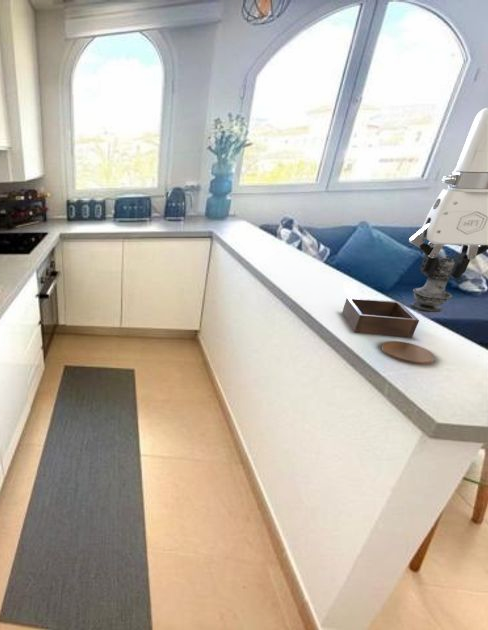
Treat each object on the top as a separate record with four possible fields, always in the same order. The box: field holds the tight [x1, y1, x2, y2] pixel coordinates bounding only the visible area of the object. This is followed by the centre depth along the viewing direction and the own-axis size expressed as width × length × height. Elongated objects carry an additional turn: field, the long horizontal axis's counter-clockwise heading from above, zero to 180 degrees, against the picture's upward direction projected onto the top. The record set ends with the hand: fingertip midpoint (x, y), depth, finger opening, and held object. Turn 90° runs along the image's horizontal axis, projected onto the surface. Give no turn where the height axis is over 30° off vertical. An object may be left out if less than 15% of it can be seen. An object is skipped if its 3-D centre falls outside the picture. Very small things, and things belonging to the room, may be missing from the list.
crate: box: [341, 297, 420, 339], centre depth 91 cm, size 12×12×5 cm
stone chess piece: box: [408, 253, 455, 314], centre depth 72 cm, size 6×6×12 cm
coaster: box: [380, 340, 436, 365], centre depth 79 cm, size 9×9×1 cm
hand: (439, 274), depth 71 cm, fingers closed on stone chess piece, 3 cm apart
